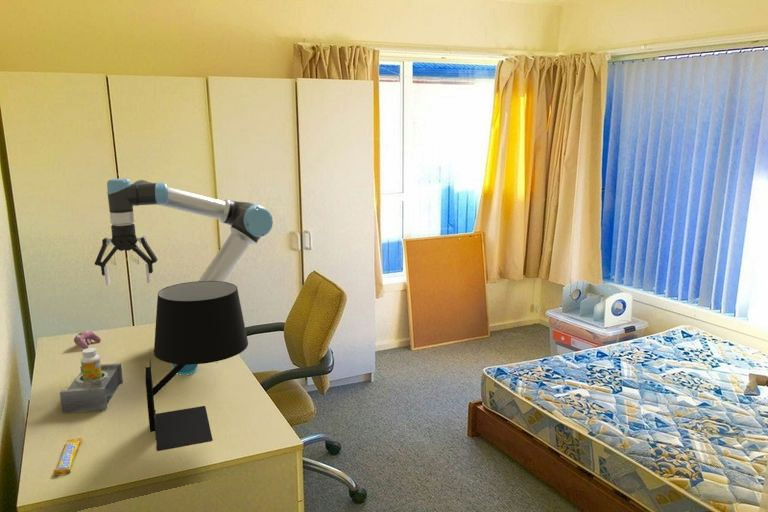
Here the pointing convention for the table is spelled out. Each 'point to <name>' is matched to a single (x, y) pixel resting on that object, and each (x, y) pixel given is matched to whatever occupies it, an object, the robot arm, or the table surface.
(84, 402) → the grey block with hole
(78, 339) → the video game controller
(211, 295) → the table lamp
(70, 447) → the candy bar
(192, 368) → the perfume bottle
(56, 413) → the table surface
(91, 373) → the supplement bottle
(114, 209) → the robot arm
